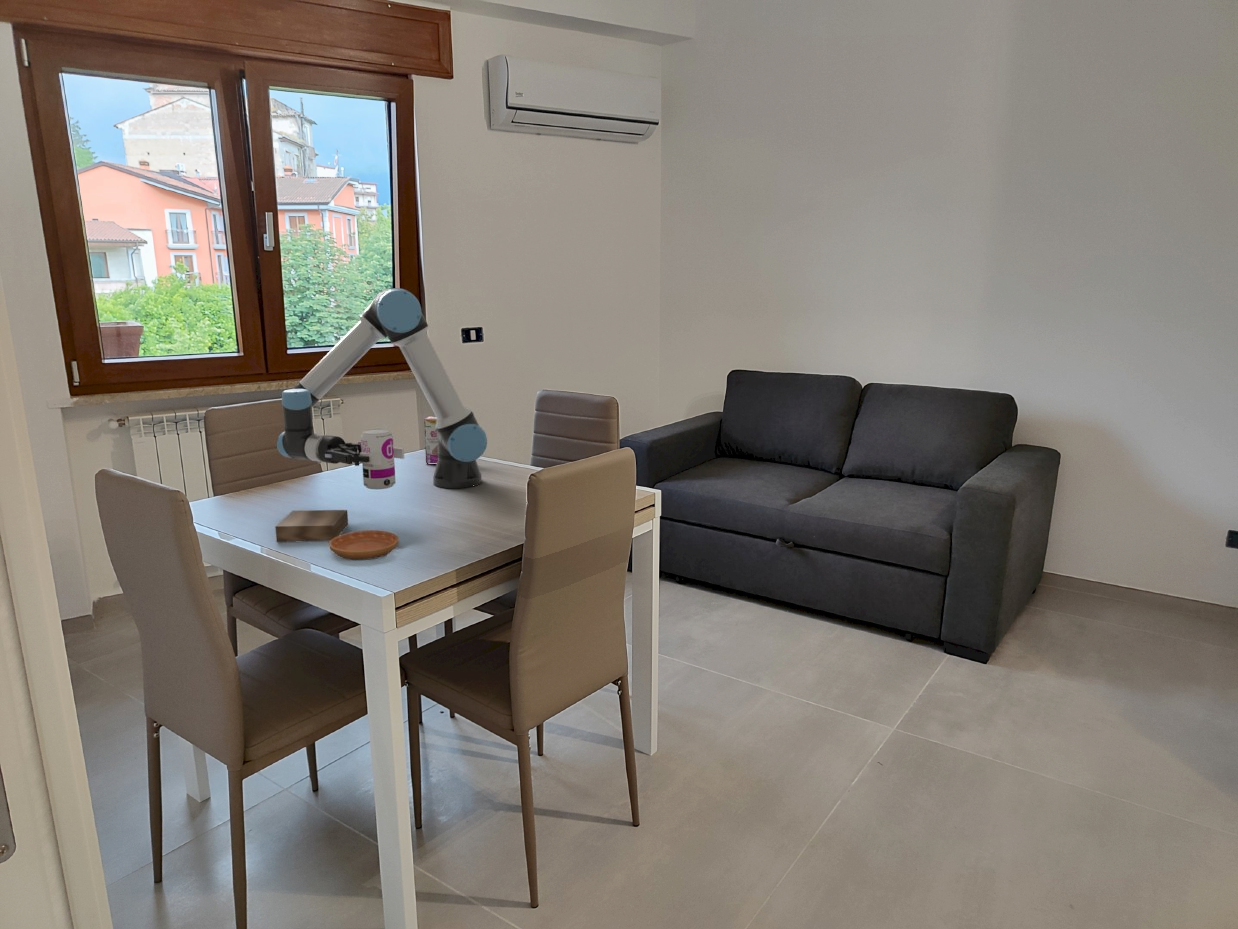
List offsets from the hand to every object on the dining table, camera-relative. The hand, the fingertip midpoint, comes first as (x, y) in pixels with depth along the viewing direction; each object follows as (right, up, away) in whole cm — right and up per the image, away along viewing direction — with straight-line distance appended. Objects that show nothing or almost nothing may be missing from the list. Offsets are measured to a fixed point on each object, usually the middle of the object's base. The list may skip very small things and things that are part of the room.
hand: (391, 456), depth 216 cm
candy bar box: (-2, -2, +73) cm, 73 cm away
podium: (-18, -20, -6) cm, 27 cm away
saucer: (-1, -23, -19) cm, 30 cm away
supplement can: (-4, -8, +4) cm, 10 cm away
